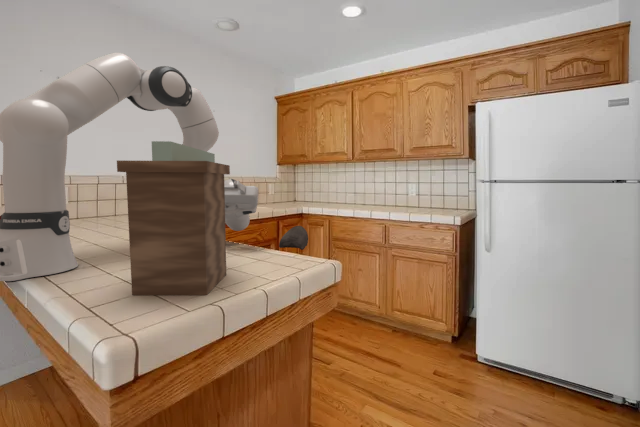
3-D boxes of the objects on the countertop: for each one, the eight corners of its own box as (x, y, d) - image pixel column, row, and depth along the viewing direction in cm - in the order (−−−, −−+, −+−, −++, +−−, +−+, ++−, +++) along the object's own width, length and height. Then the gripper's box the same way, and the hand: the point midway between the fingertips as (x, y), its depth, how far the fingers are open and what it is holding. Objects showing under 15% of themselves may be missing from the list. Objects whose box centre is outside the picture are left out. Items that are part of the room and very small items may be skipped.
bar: (171, 160, 60) (170, 141, 59) (152, 160, 60) (151, 141, 59) (214, 167, 86) (214, 153, 85) (201, 167, 86) (201, 153, 85)
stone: (285, 262, 105) (307, 242, 103) (270, 241, 108) (291, 221, 105) (299, 260, 114) (319, 241, 112) (284, 241, 117) (304, 222, 114)
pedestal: (210, 296, 62) (206, 160, 60) (123, 296, 62) (116, 160, 60) (231, 273, 78) (229, 165, 76) (162, 273, 78) (158, 165, 76)
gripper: (199, 195, 110) (185, 173, 98) (261, 195, 111) (255, 173, 98) (196, 212, 108) (181, 192, 95) (260, 212, 108) (253, 192, 95)
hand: (219, 182), depth 97 cm, fingers open, 8 cm apart
